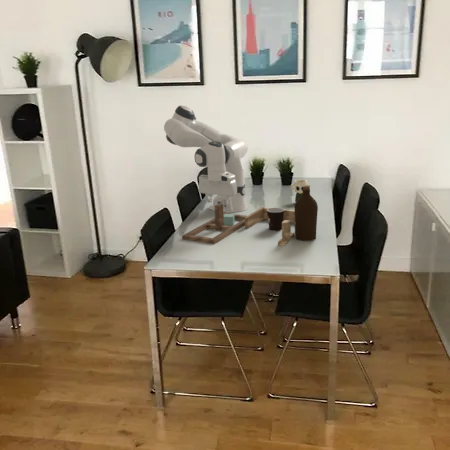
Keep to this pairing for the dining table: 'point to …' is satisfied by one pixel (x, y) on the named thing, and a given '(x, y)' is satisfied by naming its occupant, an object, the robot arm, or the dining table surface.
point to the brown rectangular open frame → (215, 227)
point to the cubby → (266, 217)
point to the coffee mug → (275, 218)
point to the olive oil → (306, 216)
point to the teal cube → (229, 219)
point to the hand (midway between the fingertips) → (218, 203)
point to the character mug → (299, 187)
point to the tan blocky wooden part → (286, 233)
